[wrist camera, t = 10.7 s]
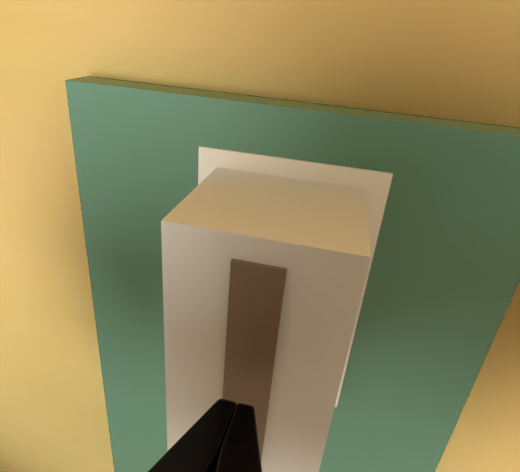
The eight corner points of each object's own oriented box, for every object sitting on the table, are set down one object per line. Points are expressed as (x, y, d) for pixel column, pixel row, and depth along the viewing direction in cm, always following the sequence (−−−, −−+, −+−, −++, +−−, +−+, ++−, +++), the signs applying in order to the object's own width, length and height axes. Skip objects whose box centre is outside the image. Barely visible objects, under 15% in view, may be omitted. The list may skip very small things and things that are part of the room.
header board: (391, 538, 20) (398, 643, 17) (127, 467, 22) (85, 548, 19) (559, 132, 11) (652, 178, 8) (88, 76, 13) (-9, 92, 10)
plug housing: (322, 391, 15) (312, 501, 12) (209, 366, 16) (166, 463, 12) (366, 189, 12) (370, 259, 8) (217, 167, 12) (158, 222, 9)
